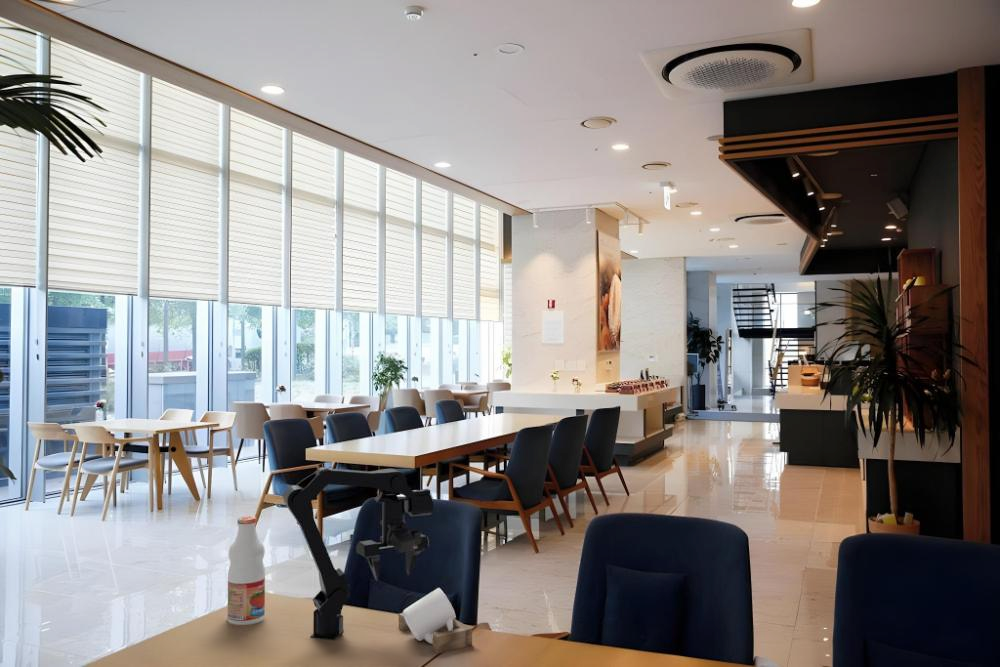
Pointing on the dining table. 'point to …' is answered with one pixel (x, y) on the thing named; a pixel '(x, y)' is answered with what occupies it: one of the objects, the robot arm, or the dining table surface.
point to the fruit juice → (246, 576)
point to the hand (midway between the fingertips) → (393, 577)
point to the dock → (446, 636)
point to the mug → (429, 615)
